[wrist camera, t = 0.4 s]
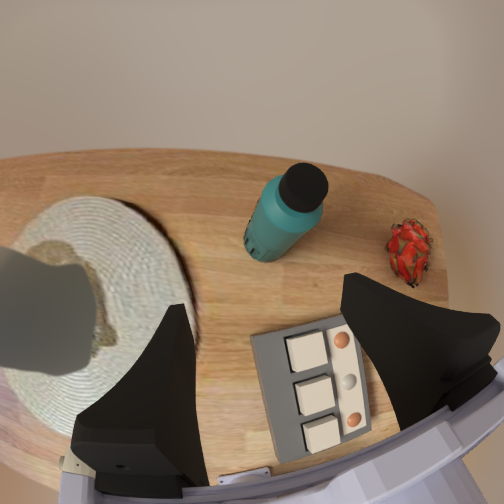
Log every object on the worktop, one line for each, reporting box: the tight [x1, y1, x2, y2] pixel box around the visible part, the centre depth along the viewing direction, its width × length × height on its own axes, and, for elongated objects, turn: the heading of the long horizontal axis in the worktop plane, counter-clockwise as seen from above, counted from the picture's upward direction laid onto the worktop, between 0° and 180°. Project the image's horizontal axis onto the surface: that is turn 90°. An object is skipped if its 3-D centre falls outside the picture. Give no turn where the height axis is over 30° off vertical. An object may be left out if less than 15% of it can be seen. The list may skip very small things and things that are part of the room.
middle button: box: [295, 375, 335, 416], centre depth 33 cm, size 4×4×2 cm
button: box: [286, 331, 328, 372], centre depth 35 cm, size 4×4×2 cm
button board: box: [250, 313, 371, 464], centre depth 36 cm, size 20×15×3 cm
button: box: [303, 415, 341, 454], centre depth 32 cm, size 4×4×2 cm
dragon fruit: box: [385, 219, 433, 288], centre depth 42 cm, size 8×8×12 cm
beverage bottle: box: [243, 163, 328, 263], centre depth 32 cm, size 6×7×20 cm
